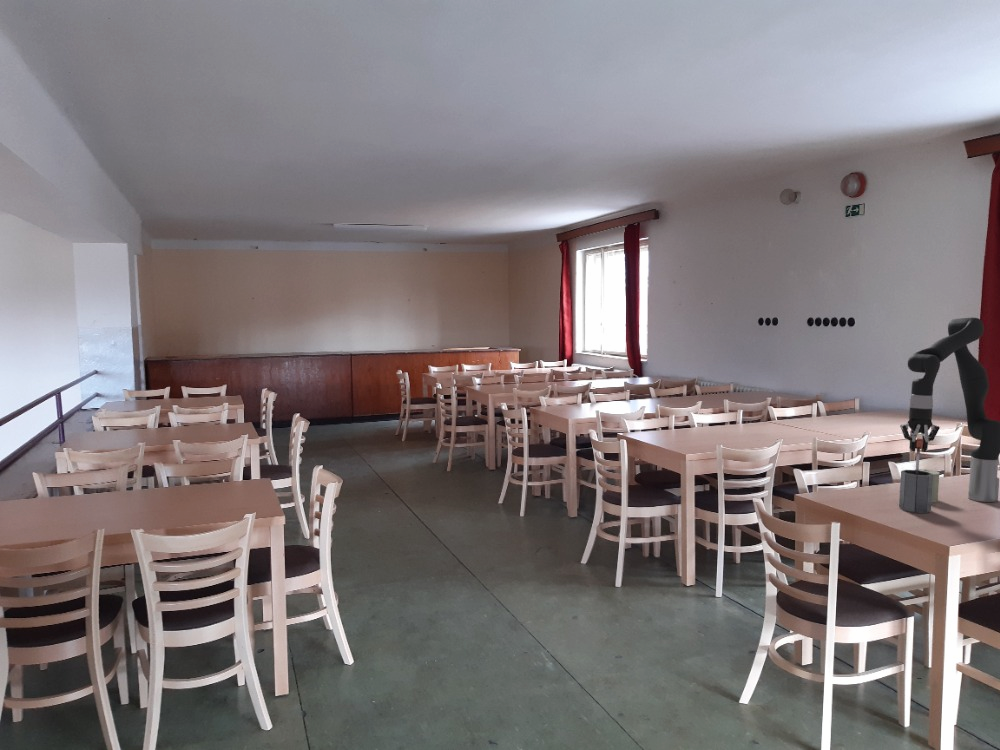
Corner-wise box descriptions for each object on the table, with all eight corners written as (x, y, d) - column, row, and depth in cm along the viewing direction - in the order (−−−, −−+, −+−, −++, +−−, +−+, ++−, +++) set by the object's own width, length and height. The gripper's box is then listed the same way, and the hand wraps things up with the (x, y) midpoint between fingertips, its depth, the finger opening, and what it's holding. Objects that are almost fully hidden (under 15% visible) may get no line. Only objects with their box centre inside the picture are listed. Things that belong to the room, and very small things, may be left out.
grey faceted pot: (920, 505, 285) (922, 469, 283) (934, 513, 273) (937, 476, 271) (893, 504, 286) (895, 468, 285) (906, 512, 274) (908, 475, 272)
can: (936, 498, 296) (938, 469, 295) (939, 503, 287) (941, 473, 286) (910, 495, 300) (912, 467, 299) (913, 500, 291) (914, 471, 290)
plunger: (921, 487, 280) (924, 437, 279) (930, 492, 273) (933, 441, 272) (902, 486, 281) (905, 437, 280) (910, 491, 274) (913, 440, 272)
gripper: (936, 405, 277) (933, 449, 279) (897, 404, 279) (894, 448, 281) (945, 408, 270) (942, 453, 271) (905, 407, 272) (902, 452, 273)
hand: (918, 450), depth 276 cm, fingers closed on plunger, 3 cm apart
